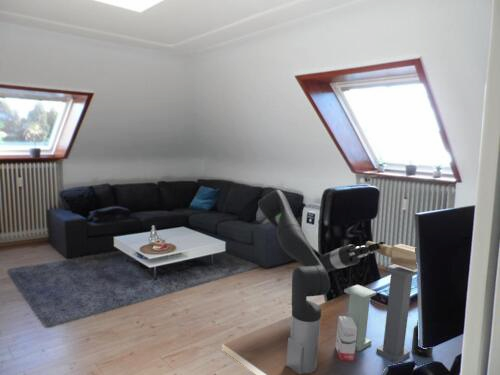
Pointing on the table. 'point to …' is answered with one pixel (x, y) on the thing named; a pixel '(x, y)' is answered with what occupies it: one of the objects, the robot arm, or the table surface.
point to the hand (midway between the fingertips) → (381, 244)
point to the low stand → (360, 312)
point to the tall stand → (397, 313)
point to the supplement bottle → (416, 348)
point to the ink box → (346, 338)
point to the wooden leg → (398, 254)
